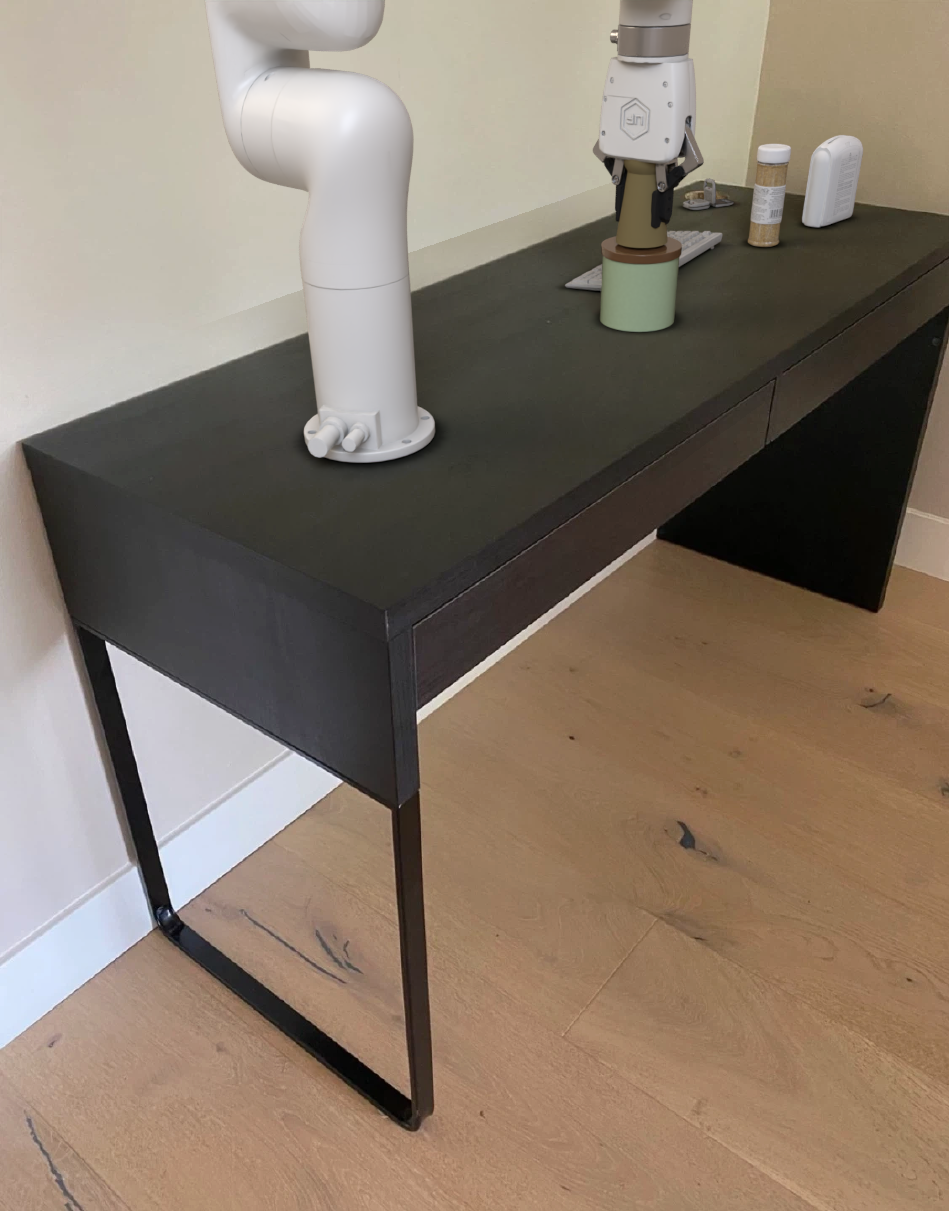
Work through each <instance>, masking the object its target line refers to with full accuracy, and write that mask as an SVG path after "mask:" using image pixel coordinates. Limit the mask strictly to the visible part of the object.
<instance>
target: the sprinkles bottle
mask: <svg viewBox="0 0 949 1211" xmlns="http://www.w3.org/2000/svg"><path fill="white" fill-rule="evenodd" d="M756 151H757V153H756V161H757V162H756V171H755V178H754V179H755V180H754V186H753V192H752V194H753V195H752V202H751V203H752V204H751V211H750V224H749V233H748V238H747V243H748V244H749V245H751V246H752V247H758V248H772V247H775V246H777V245H778V244H779V243H780V240H779V239H780V238H779V237H780V230H781V223H782V219H783V211H784V205H785V204H784V203H785V196H786V190H787V189H786V188H787V177H788V176H787V175H788V166H789V162H790V160H791V154H792V147H791V146H790V145H788V144H783V143H766V144H761V145H759V146H758V147H757V150H756Z"/></svg>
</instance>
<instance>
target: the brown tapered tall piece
mask: <svg viewBox="0 0 949 1211" xmlns="http://www.w3.org/2000/svg"><path fill="white" fill-rule="evenodd" d="M623 160H624V165H625V167H626V169H627V171H628V172H627V178H626V183H625V189H624V196H623V202H622V208H621V214H620V219H619V222H617V223H618V224H617V230H616V235H615V236H616V243H618V244H619V245H622V246H626V247H633V248H651V247H658V246H662V245H664V244H666V243H667V242H668V240H667V231H668V224H666V225H665V223H663V222H661V224H660V227H658V228H653V227H651V203H652V193H653V191H655V190H657V180H656V169H655V166H656V163H648V162H640V161H637V160H625V159H623ZM667 166H668V165H667Z"/></svg>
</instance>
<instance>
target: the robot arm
mask: <svg viewBox="0 0 949 1211" xmlns="http://www.w3.org/2000/svg"><path fill="white" fill-rule="evenodd" d="M693 3H694V0H619V14H618V25H617V29H612V30H611V31H610V33H609V40H610V43H611V44H616V52H617V56H613V57H611V58H610V60H609V64H608V68H607V72H606V76H605V81H604V85H603V90H602V91H603V92H602V99H601V107H600V115H599V125H598V126H599V128H598V138H597V140H596V142H595V144H594V145H593V148H592V153H593V155H595V157H596V158H597V159H598V160H599V161H600V162H601V163H603V166H604V167H605V169H606V171H607V172H608V174H609V175H610V177H611V183H612V184H613V185H614V186H615V196H614V197H615V199H614V210H615V222H617V223H619V219H620V214H621V208H622V202H623V196H624V189H625V183H626V178H627V172H628V171H627V169H626V167H625V165H624V160H623V159H625V160H637V161H640V162H648V163H656V166H655V169H656V180H657V190H655V191H653V193H652V203H651V227H653V228H658V227H660V224H661V222H663V223H665V225H666V224H667V225H669V223H670V221H671V218H672V215H673V205H674V196H675V195H674V192H675V188H677V187H678V186H679V185H680V183H681V182H682V181H683V180H684V179H685V178H686V177H687V176H688V175H689V174H691V173H692V172H694V171H696V170H697V169H698V168H699V169H700V167H702V166H703V165H704V164H705V159H704V157H703V154H702V152H701V150H700V148H699V145H698V143H697V141H696V138H695V137H696V124H697V123H696V122H697V86H696V84H697V83H696V72H695V65H694V59H693V58H691V57H690V56H689V54H690V44H691V43H690V41H691V29H692V19H693V18H692V17H693V6H694V5H693ZM204 6H205V7H204V8H205V15H206V22H207V30H208V37H209V43H210V48H211V57H212V62H213V69H214V75H215V81H216V87H217V88H216V90H217V94H218V101H219V107H220V113H221V118H222V123H223V124H222V125H223V127H224V132H225V135H226V138H227V141H228V142H227V143H228V144H229V146H230V149H231V151H232V153H233V155H234V157H235V158H236V160H237V161H238V164H240V165H241V166H242V167H243V169H244V170H245V171H247V172H248V173H249V174H250V175H252V176H254V177H255V178H256V179H259V180H261V181H263V182H266V183H269V184H273V185H277V186H282V187H286V188H291V189H294V190H295V189H296V190H300V191H303V192H307V193H308V201H307V206H306V211H305V214H304V218H303V221H302V225H301V228H300V232H299V233H300V234H299V239H298V240H299V242H298V257H299V258H298V259H299V268H300V277H301V283H302V292H303V300H304V309H305V316H306V325H307V334H308V342H309V350H310V351H309V352H310V358H311V359H310V360H311V368H312V375H313V382H314V383H313V384H314V391H315V392H314V393H315V400H316V410H317V413H316V414H314V415H313V416H312V417H311V418H310V419H309V420H308V421H307V422H306V424H305V425H304V426H303V436H304V442H305V443H304V444H305V445H306V446H307V449H308V451H309V453H310V454H311V455H312V456H313V457H315V458H319V459H320V458H326V459H328V460H330V461H337V462H342V463H352V464H363V463H364V464H370V463H380V462H386V461H393V460H397V459H400V458H404V457H407V456H409V455H412V454H414V453H416V452H418V451H420V450H422V449H424V448H425V447H426V446H427V445H429V443H431V441H432V440H433V438H435V434H436V422H435V421H436V420H435V419H434V416H433V415H432V414H431V413H430V412H429V411H427V410H426V409H424V408H423V407H420V406H418V395H417V394H418V392H417V380H416V379H417V378H416V375H417V374H416V360H415V359H416V358H415V343H414V342H415V341H414V329H413V328H414V326H413V325H414V324H413V309H412V292H411V276H410V264H409V263H410V262H409V245H408V244H409V243H408V201H409V200H408V199H409V189H410V182H411V174H412V167H413V159H414V128H413V123H412V119H411V116H410V114H409V111H408V108H407V107H406V105H405V103H404V101H403V100H402V99H401V98H400V95H398V94H397V93H396V91H394V90H393V88H391V87H390V86H388V85H387V84H386V83H384V82H383V81H381V80H379V79H378V78H376V77H372V76H370V75H367V74H365V73H364V74H363V73H360V72H355V71H347V70H341V69H340V70H339V69H330V68H321V67H315V68H313V67H311V62H310V51H311V52H337V53H338V52H340V53H341V52H350V51H354V50H357V49H359V48H362V47H364V46H366V45H368V43H370V42H371V41H372V40H373V39H374V38H375V37H376V36H377V34H378V32H379V31H380V29H381V27H382V23H383V20H384V14H385V7H386V0H204ZM683 158H684V160H683V162H681V163H680V164H679V159H683ZM667 165H668V166H667Z"/></svg>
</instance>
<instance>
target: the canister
mask: <svg viewBox="0 0 949 1211" xmlns="http://www.w3.org/2000/svg"><path fill="white" fill-rule="evenodd" d="M667 240H668V242H667V243H666V244H664V245H662V246H658V247H651V248H633V247H626V246H622V245H619V244H618V243H616V235H615V236H612V237H608V238H606V239H605V240H603V241H602V242H601V243H600V254H601V257H602V258H601V264H602V279H601V291H600V307H599V309H600V310H599V321H600V323H601V324H602V325H603V326H605V327H608V328H610V329H613V330H618V331H622V332H630V333H646V332H647V333H649V332H656V331H660V330H664V329H667V328H669V327H671V326H672V325H673V324H674V322H675V316H676V305H677V304H676V303H677V291H678V280H679V269H680V267H679V257H680V255H681V253H682V243H681V242H680V241H678V240H676V239H674V238H671V237H667Z"/></svg>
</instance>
